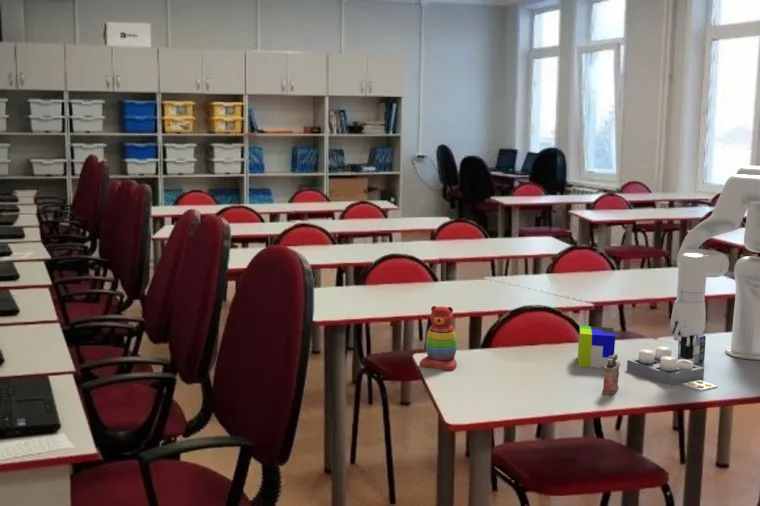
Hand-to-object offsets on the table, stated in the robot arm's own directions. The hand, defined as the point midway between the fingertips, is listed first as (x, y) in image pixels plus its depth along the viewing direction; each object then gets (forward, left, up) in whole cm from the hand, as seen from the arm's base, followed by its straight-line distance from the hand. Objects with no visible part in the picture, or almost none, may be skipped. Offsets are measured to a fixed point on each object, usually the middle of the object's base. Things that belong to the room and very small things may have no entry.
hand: (686, 357), depth 240 cm
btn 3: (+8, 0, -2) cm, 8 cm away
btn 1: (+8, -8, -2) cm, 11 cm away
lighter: (+30, 0, -6) cm, 31 cm away
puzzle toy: (+14, -22, -6) cm, 27 cm away
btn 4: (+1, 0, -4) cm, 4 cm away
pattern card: (+4, +9, -5) cm, 11 cm away
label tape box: (-12, -8, -6) cm, 15 cm away
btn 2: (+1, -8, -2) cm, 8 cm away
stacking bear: (+58, -41, -6) cm, 71 cm away
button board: (+4, -4, -5) cm, 8 cm away
